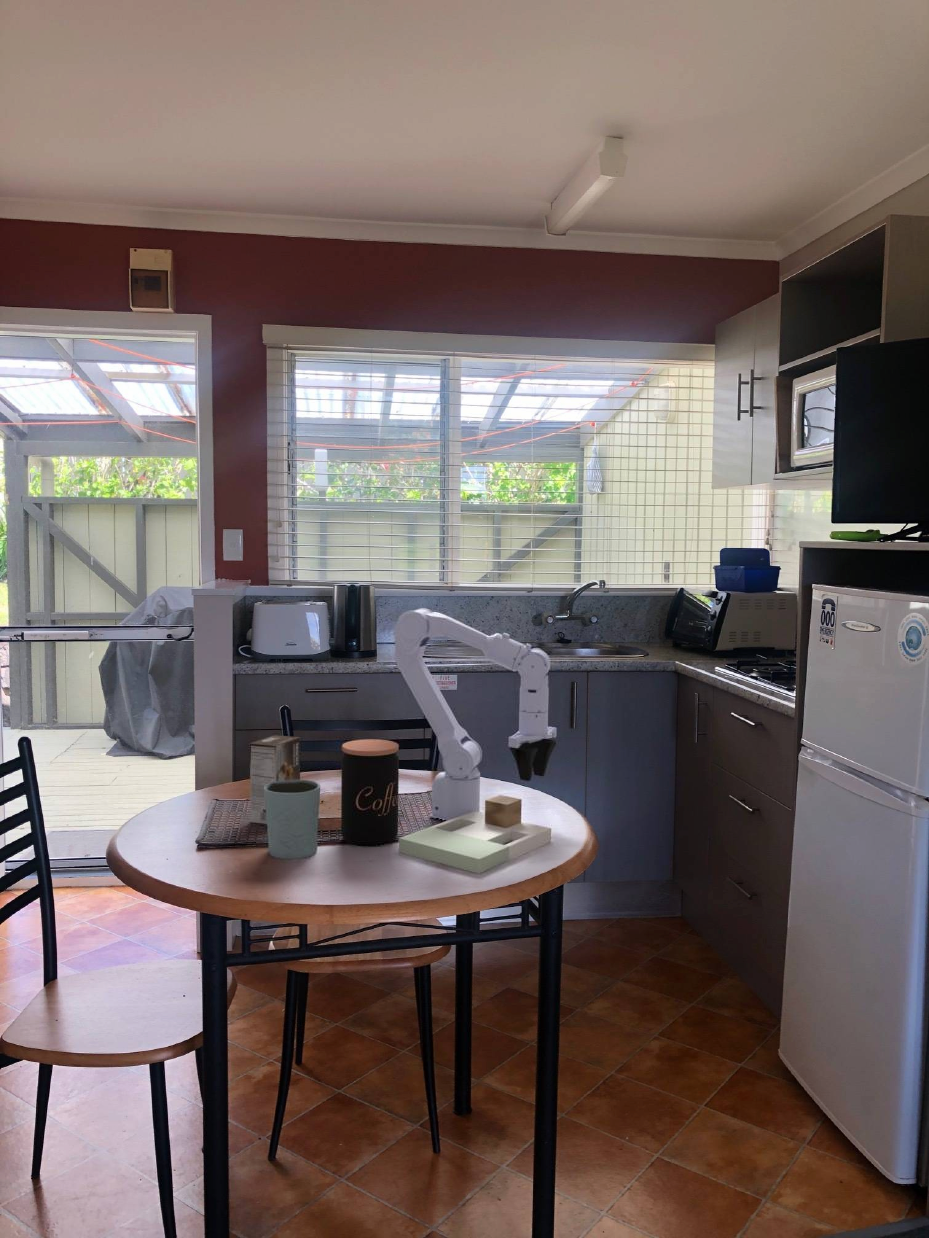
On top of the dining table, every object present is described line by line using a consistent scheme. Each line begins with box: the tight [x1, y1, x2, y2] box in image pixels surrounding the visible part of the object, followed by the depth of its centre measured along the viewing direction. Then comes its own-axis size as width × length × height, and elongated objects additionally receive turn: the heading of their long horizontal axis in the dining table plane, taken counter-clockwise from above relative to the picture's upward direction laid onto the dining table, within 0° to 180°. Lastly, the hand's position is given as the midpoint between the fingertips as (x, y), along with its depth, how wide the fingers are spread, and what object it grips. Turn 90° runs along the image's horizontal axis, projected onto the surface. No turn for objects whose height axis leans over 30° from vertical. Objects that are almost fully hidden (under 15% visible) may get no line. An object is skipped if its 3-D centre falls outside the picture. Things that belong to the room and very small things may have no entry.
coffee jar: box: [340, 738, 400, 848], centre depth 176 cm, size 11×11×18 cm
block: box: [484, 794, 523, 828], centre depth 179 cm, size 5×5×4 cm
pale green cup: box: [263, 779, 321, 860], centre depth 168 cm, size 10×10×12 cm
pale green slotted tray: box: [398, 811, 552, 875], centre depth 173 cm, size 18×23×2 cm
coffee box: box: [249, 734, 301, 825], centre depth 188 cm, size 9×6×16 cm
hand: (532, 777), depth 187 cm, fingers open, 4 cm apart
